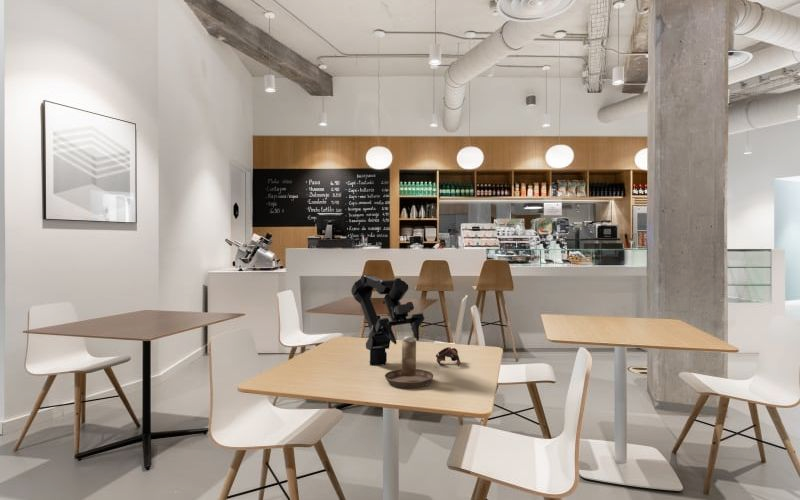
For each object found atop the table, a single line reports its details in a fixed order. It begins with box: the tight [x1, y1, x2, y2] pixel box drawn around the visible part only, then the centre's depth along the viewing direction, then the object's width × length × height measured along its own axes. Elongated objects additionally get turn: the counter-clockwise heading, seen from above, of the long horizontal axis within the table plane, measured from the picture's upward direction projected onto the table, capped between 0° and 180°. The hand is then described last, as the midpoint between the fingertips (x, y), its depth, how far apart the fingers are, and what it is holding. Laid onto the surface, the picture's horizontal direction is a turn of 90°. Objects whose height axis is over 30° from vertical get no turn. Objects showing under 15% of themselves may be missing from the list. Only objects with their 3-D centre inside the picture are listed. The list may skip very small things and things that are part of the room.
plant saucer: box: [384, 368, 434, 389], centre depth 173 cm, size 18×18×3 cm
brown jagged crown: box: [435, 346, 462, 367], centre depth 200 cm, size 12×10×8 cm
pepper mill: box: [401, 335, 417, 377], centre depth 173 cm, size 5×5×14 cm
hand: (407, 341), depth 178 cm, fingers open, 9 cm apart
